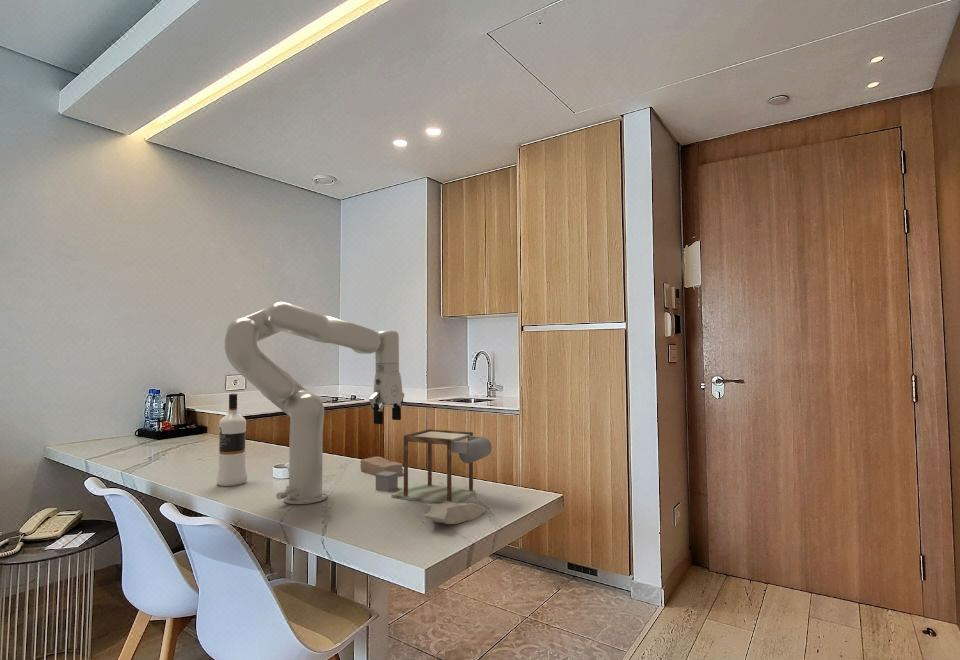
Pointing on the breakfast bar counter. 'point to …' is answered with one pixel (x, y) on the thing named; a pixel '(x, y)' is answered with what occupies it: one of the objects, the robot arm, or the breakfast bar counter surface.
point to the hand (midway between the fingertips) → (387, 421)
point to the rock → (453, 512)
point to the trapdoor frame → (429, 491)
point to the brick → (380, 466)
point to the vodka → (232, 447)
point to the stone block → (386, 481)
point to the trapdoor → (465, 445)
